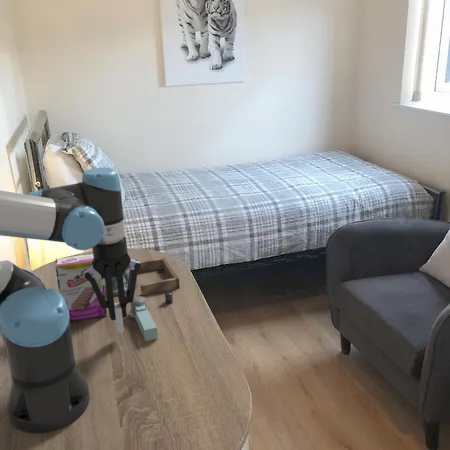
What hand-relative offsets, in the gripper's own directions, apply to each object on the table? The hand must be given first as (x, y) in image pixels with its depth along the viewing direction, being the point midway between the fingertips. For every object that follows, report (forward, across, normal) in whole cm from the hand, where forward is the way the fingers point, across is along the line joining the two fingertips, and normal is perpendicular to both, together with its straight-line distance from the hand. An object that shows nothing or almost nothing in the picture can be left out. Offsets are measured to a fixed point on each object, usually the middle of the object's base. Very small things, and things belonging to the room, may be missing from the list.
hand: (120, 329), depth 119 cm
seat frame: (+3, +14, +28) cm, 31 cm away
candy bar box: (+3, -6, +15) cm, 17 cm away
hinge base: (+3, +10, +11) cm, 15 cm away
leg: (+3, +7, +4) cm, 8 cm away
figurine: (+3, +5, +28) cm, 28 cm away
